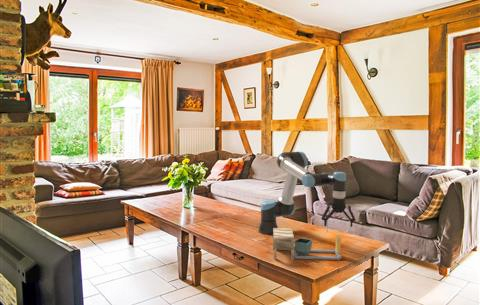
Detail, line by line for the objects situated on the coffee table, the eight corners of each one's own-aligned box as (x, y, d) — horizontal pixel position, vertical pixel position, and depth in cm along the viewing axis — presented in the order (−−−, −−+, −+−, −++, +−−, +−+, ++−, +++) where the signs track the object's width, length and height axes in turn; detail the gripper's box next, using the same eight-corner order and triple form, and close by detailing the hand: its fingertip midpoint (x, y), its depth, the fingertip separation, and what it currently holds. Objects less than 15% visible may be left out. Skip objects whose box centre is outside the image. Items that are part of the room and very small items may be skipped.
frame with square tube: (292, 250, 230) (292, 232, 229) (337, 252, 228) (337, 233, 227) (293, 258, 216) (294, 238, 216) (341, 259, 214) (342, 240, 213)
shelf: (273, 249, 234) (273, 228, 233) (291, 249, 233) (291, 228, 232) (273, 259, 215) (273, 237, 214) (293, 260, 214) (294, 237, 213)
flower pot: (293, 255, 222) (293, 241, 222) (299, 251, 230) (299, 237, 229) (307, 258, 218) (307, 243, 217) (312, 253, 225) (312, 239, 224)
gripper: (319, 198, 216) (318, 232, 218) (361, 199, 214) (360, 234, 216) (317, 195, 223) (316, 229, 225) (358, 196, 221) (357, 230, 223)
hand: (337, 231), depth 220 cm, fingers open, 13 cm apart
